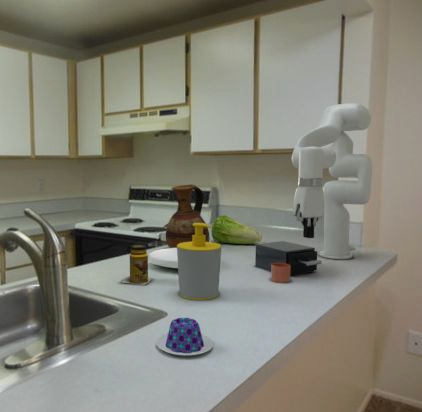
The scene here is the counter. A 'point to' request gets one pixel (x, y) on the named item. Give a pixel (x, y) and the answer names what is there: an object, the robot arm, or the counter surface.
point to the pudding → (184, 338)
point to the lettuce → (234, 232)
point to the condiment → (138, 266)
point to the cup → (280, 272)
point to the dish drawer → (303, 261)
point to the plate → (164, 257)
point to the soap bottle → (199, 266)
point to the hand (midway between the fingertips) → (308, 237)
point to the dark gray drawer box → (277, 253)
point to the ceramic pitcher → (185, 216)
